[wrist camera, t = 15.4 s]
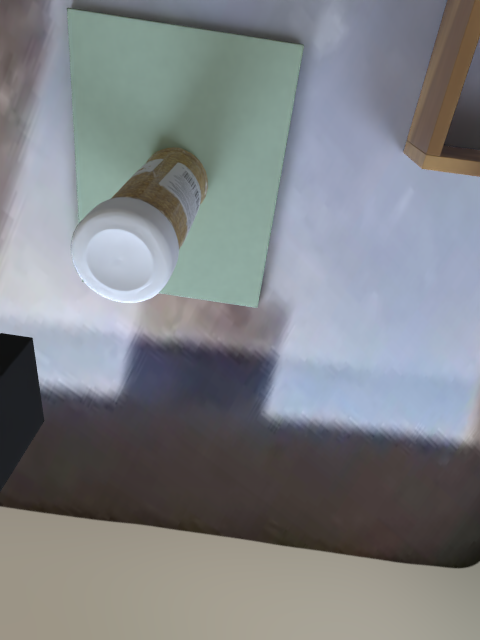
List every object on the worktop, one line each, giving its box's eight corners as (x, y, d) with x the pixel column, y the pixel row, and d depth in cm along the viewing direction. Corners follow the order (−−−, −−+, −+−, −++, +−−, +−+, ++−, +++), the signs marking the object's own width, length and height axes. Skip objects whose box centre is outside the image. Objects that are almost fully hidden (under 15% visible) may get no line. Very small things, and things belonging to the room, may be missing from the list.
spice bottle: (141, 145, 30) (58, 207, 19) (209, 147, 30) (168, 212, 19) (147, 212, 33) (76, 304, 21) (210, 215, 32) (174, 309, 21)
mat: (70, 8, 27) (66, 7, 27) (303, 44, 27) (304, 44, 27) (84, 278, 36) (81, 281, 36) (257, 304, 37) (257, 308, 36)
